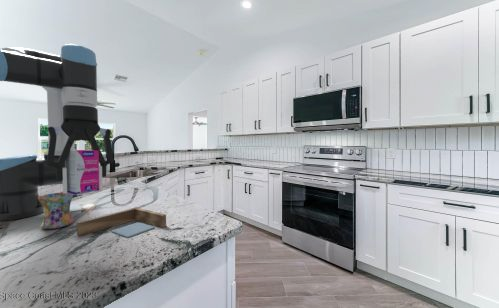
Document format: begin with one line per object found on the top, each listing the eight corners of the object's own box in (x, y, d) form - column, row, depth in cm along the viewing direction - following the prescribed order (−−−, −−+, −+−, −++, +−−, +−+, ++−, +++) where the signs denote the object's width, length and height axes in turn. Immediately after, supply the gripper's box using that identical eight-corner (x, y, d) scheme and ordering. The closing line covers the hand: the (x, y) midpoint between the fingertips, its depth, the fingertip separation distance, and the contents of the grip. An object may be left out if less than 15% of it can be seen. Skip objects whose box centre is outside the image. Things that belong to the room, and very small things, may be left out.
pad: (111, 231, 70) (111, 230, 70) (138, 223, 78) (138, 222, 78) (127, 238, 65) (127, 236, 65) (154, 228, 73) (154, 227, 73)
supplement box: (76, 194, 57) (74, 150, 56) (65, 192, 60) (63, 150, 59) (100, 190, 62) (99, 149, 61) (89, 188, 65) (87, 149, 64)
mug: (79, 224, 77) (78, 194, 76) (44, 233, 69) (43, 199, 68) (66, 218, 83) (65, 190, 83) (32, 226, 75) (31, 195, 75)
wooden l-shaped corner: (77, 235, 67) (76, 222, 67) (136, 217, 84) (136, 207, 84) (106, 248, 59) (106, 233, 59) (166, 226, 75) (165, 214, 75)
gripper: (28, 99, 50) (31, 198, 51) (125, 108, 64) (127, 187, 65) (29, 103, 56) (32, 193, 57) (118, 111, 69) (120, 184, 70)
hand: (83, 190), depth 61 cm, fingers closed on supplement box, 7 cm apart
